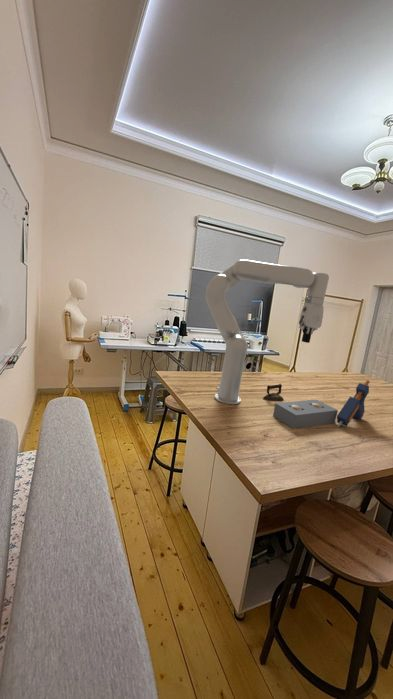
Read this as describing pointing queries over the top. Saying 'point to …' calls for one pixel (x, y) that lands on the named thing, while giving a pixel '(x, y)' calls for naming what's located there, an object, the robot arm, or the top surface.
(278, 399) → the clothes iron
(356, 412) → the glue gun
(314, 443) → the top surface
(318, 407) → the dowel
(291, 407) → the dowel
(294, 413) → the block
